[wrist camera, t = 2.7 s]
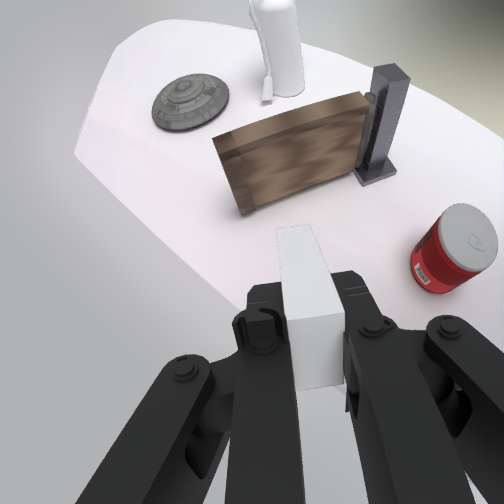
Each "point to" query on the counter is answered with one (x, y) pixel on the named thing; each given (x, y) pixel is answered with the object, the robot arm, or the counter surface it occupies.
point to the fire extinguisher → (279, 46)
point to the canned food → (454, 249)
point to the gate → (295, 149)
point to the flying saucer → (189, 101)
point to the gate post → (383, 122)
